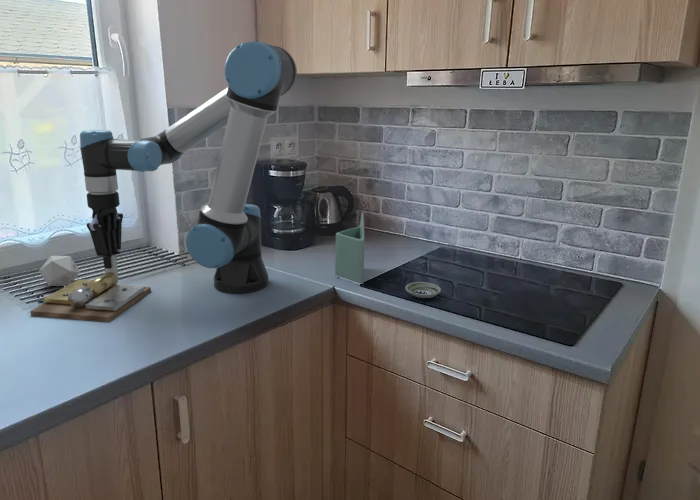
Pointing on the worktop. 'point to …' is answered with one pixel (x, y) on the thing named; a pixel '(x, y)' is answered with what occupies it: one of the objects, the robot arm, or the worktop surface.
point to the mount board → (83, 310)
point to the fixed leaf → (104, 297)
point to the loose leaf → (95, 285)
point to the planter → (350, 253)
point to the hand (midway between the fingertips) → (112, 278)
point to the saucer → (423, 289)
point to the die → (59, 271)
